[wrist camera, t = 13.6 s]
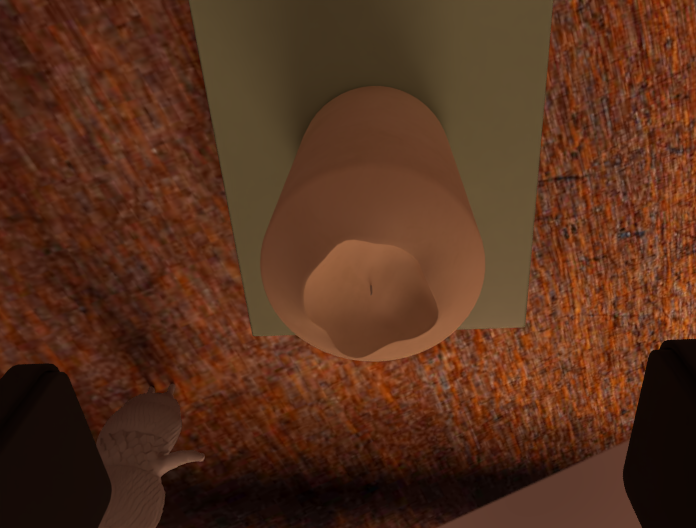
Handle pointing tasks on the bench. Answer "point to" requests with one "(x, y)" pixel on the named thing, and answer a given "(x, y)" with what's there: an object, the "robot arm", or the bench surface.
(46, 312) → the bench surface
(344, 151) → the candle
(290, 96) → the shelf
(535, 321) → the bench surface
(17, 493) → the robot arm
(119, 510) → the figurine
